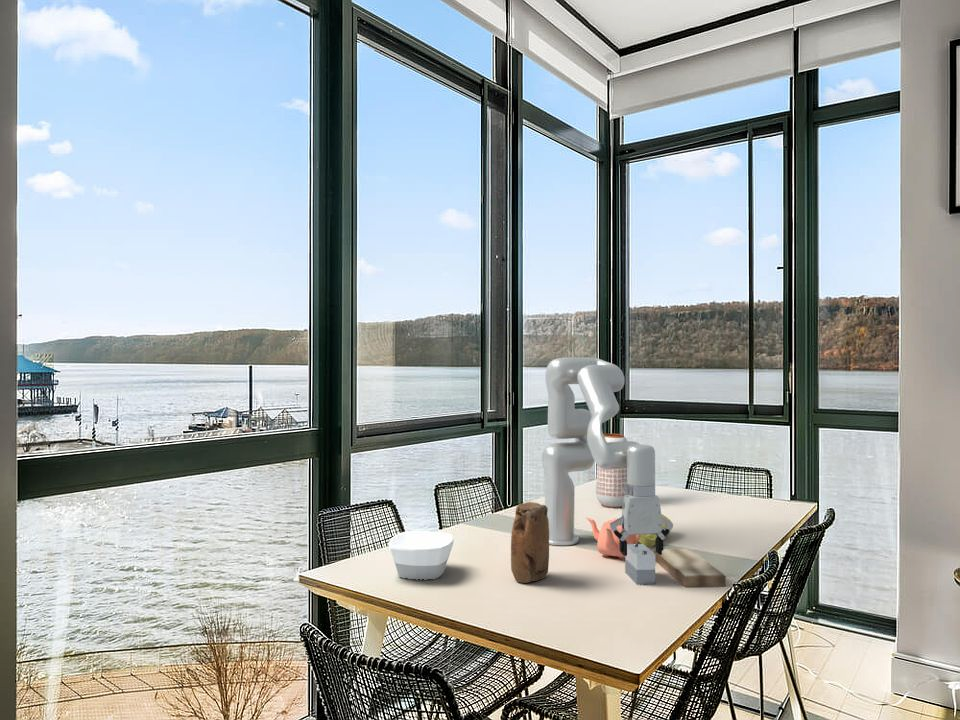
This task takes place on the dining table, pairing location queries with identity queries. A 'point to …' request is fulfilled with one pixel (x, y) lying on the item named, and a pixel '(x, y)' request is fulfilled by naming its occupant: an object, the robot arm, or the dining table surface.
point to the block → (530, 542)
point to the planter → (611, 480)
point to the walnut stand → (689, 568)
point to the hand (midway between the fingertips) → (641, 554)
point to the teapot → (610, 539)
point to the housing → (640, 564)
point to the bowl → (421, 554)
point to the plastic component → (651, 536)
